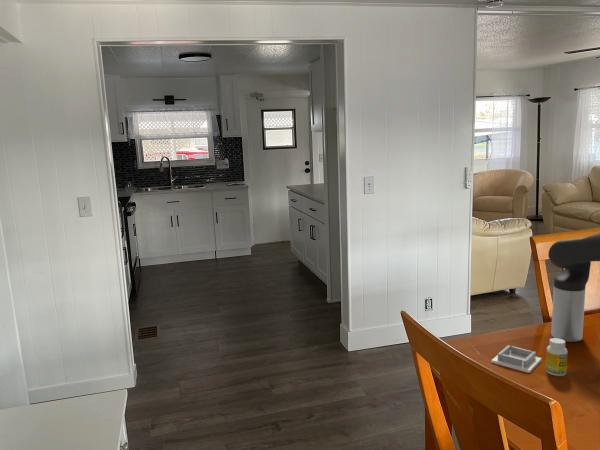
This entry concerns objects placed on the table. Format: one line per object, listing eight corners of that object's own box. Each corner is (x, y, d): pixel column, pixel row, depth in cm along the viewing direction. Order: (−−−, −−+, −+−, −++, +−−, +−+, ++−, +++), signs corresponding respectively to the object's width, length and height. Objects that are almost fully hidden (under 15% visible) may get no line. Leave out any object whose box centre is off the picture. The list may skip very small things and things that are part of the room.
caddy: (504, 351, 157) (504, 342, 157) (541, 360, 150) (541, 351, 149) (491, 362, 150) (491, 353, 149) (529, 373, 142) (529, 363, 142)
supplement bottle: (552, 366, 146) (553, 335, 144) (570, 372, 142) (572, 341, 140) (541, 371, 143) (543, 339, 142) (559, 378, 139) (561, 345, 137)
